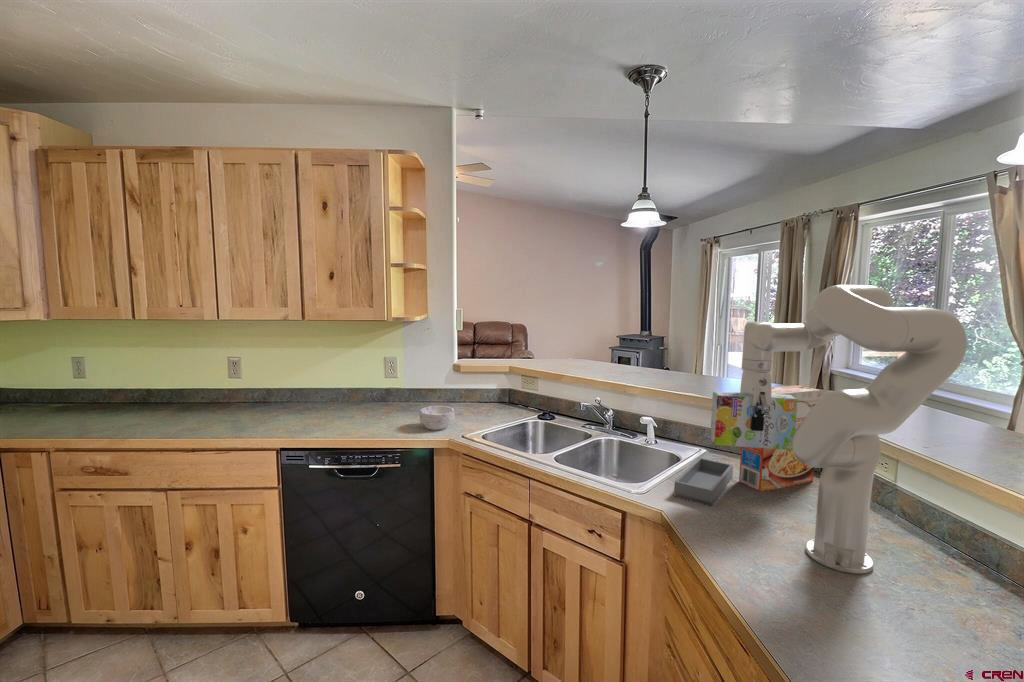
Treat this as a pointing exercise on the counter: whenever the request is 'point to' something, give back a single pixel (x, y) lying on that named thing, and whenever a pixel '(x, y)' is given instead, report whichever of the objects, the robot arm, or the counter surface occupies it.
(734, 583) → the counter surface
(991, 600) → the counter surface
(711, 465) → the tray
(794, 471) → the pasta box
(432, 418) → the grey bowl
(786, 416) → the snack box
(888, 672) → the counter surface
